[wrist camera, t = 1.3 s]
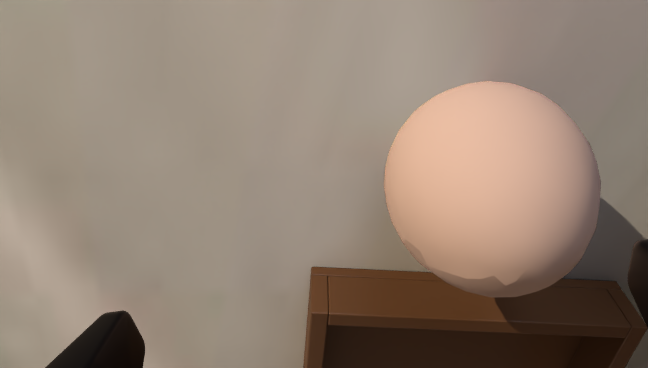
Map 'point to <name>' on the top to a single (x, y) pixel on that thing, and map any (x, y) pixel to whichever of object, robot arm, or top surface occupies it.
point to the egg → (493, 189)
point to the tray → (464, 323)
